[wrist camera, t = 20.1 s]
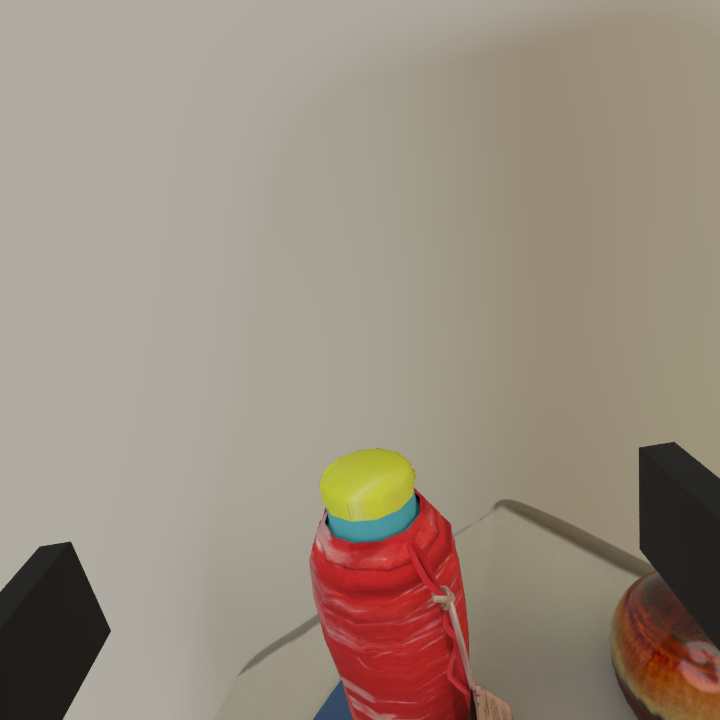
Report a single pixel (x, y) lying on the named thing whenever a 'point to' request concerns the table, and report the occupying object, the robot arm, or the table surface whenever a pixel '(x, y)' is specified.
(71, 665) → the robot arm
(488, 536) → the table surface
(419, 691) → the water bottle
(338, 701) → the blue mat
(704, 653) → the vase
